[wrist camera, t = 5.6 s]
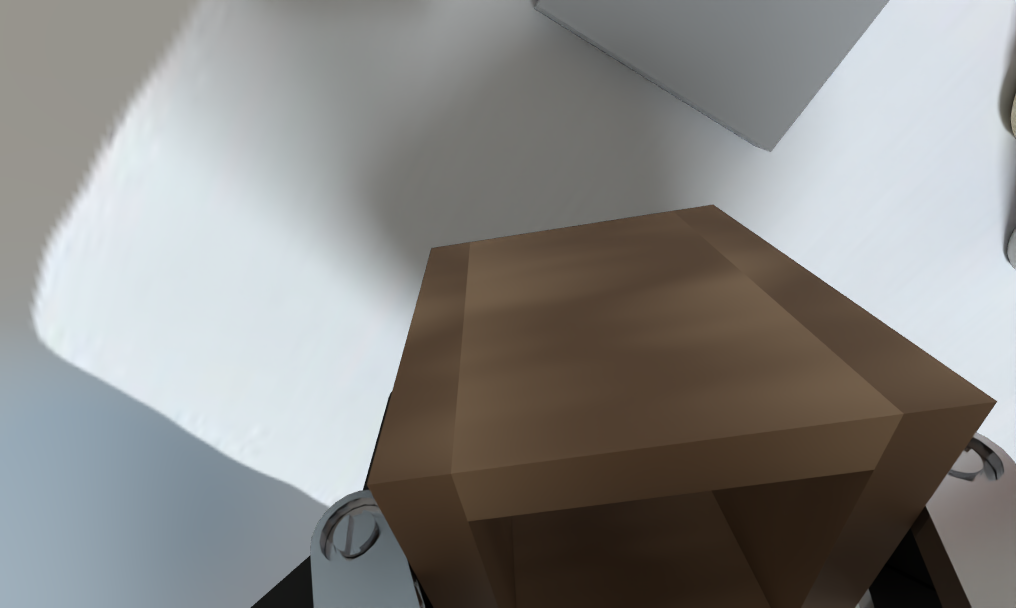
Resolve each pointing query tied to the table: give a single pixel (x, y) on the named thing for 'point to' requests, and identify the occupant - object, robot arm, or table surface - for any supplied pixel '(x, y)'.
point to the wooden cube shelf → (656, 424)
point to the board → (726, 51)
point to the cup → (1012, 249)
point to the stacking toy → (1013, 116)
